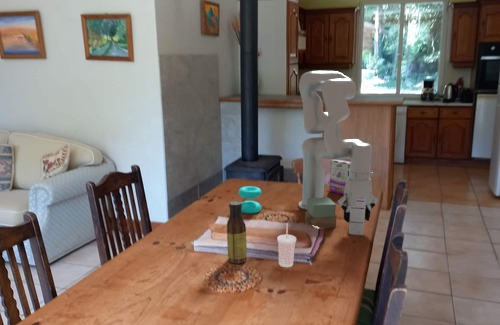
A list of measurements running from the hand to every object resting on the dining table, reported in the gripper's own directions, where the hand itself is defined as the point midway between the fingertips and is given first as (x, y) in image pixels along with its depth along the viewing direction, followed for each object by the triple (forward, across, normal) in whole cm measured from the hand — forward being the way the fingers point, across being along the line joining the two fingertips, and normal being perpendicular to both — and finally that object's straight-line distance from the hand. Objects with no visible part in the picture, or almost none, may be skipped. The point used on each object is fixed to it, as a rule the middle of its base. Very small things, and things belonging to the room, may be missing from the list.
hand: (356, 220), depth 168 cm
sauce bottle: (+5, +50, +14) cm, 52 cm away
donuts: (+5, +34, -33) cm, 48 cm away
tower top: (0, +10, -11) cm, 15 cm away
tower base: (+5, +10, -11) cm, 16 cm away
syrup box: (+5, 0, 0) cm, 5 cm away
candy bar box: (+5, -17, -49) cm, 52 cm away
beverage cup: (+5, +35, +20) cm, 41 cm away
